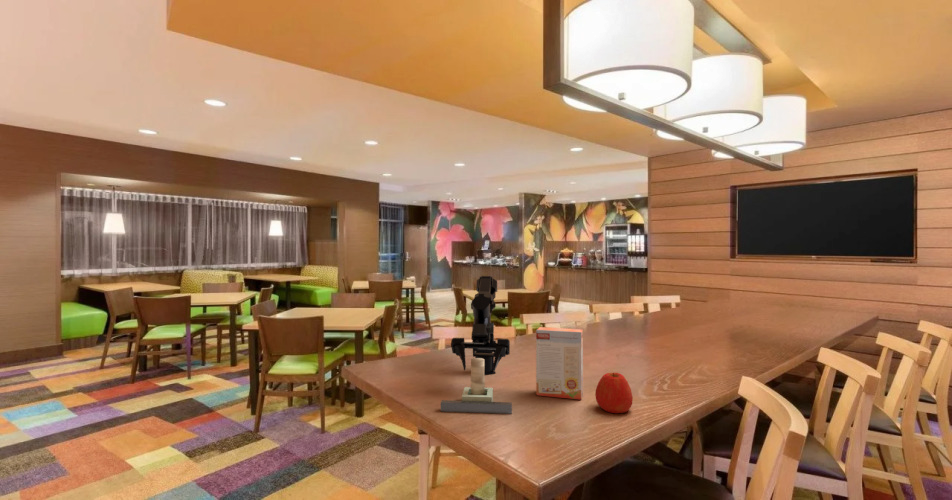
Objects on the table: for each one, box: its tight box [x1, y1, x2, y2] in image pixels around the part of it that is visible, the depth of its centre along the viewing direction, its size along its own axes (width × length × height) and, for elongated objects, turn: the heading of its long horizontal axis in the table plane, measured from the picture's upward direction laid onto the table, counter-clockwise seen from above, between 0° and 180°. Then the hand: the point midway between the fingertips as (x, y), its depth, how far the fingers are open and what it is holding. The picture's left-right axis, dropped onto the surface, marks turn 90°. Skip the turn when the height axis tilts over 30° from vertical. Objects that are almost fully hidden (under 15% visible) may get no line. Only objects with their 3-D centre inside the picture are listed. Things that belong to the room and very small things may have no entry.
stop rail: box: [440, 399, 513, 415], centre depth 123 cm, size 2×20×2 cm, turn 85°
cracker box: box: [535, 326, 584, 401], centre depth 137 cm, size 14×6×21 cm, turn 71°
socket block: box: [461, 386, 494, 402], centre depth 129 cm, size 9×9×4 cm
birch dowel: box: [470, 357, 486, 395], centre depth 129 cm, size 4×4×12 cm
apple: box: [594, 372, 634, 414], centre depth 125 cm, size 10×10×10 cm
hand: (479, 369), depth 135 cm, fingers open, 9 cm apart
